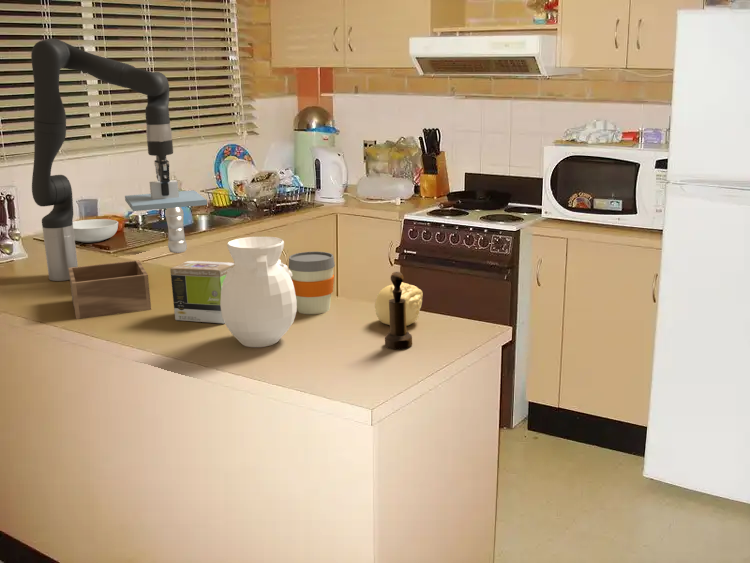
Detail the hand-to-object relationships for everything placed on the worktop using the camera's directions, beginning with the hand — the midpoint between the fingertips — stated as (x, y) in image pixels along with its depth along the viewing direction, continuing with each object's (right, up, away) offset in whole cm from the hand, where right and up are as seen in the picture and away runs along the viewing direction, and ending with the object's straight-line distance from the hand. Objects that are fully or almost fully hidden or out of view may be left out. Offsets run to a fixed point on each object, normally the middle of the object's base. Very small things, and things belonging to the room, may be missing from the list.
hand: (164, 194), depth 266 cm
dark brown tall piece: (+71, -43, -62) cm, 104 cm away
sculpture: (+72, -38, -45) cm, 93 cm away
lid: (0, -3, +1) cm, 3 cm away
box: (-10, -34, -21) cm, 41 cm away
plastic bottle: (-6, -17, +44) cm, 48 cm away
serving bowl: (-46, -11, +71) cm, 85 cm away
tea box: (+21, -37, -36) cm, 55 cm away
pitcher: (+38, -42, -56) cm, 79 cm away
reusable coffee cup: (+49, -35, -31) cm, 68 cm away
